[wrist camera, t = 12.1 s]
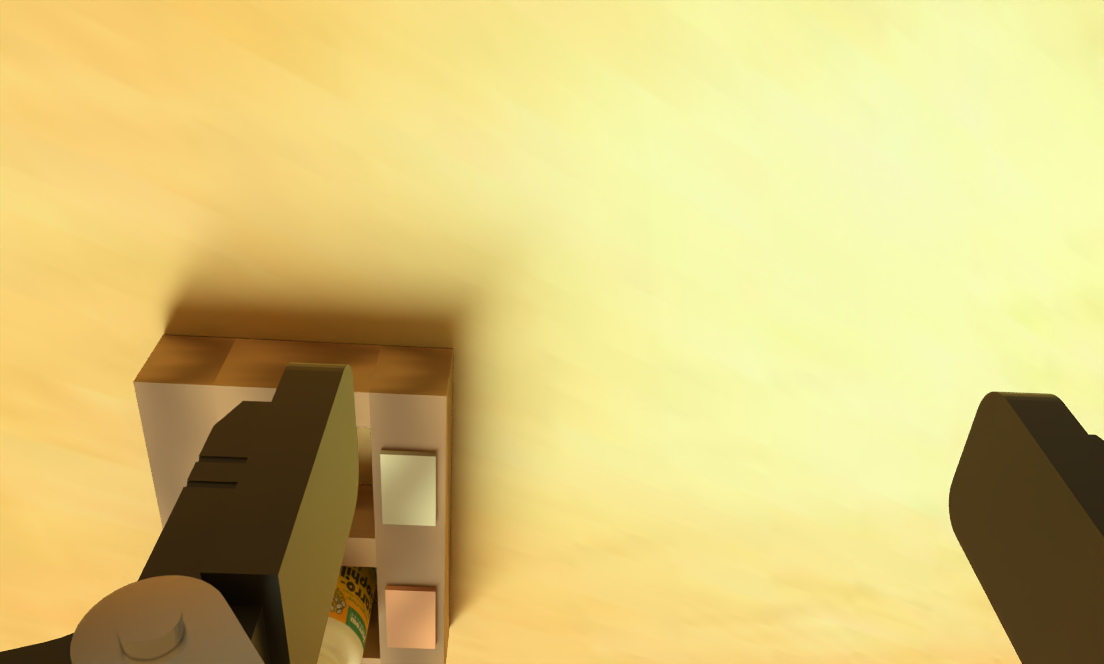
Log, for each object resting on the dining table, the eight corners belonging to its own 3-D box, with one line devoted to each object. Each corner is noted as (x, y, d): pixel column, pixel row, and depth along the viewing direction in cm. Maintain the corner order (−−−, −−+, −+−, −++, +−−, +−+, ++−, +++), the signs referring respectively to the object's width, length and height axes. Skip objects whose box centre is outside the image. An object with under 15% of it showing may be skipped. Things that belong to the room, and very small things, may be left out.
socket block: (453, 348, 47) (445, 400, 43) (449, 628, 57) (443, 688, 54) (163, 334, 46) (131, 385, 43) (213, 620, 57) (190, 680, 53)
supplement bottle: (265, 551, 54) (216, 696, 46) (331, 505, 52) (293, 647, 44) (334, 602, 56) (300, 749, 48) (400, 560, 54) (376, 705, 46)
